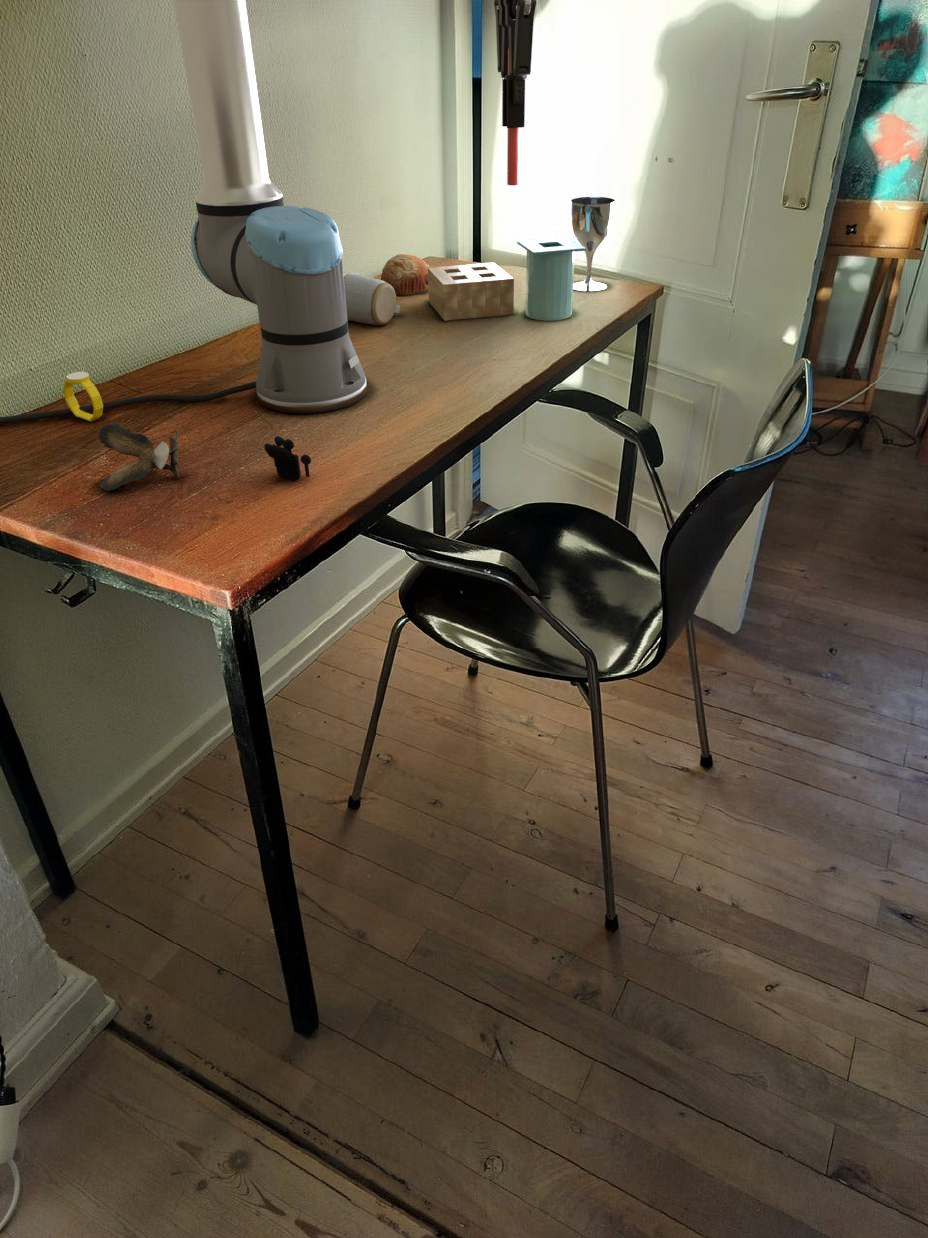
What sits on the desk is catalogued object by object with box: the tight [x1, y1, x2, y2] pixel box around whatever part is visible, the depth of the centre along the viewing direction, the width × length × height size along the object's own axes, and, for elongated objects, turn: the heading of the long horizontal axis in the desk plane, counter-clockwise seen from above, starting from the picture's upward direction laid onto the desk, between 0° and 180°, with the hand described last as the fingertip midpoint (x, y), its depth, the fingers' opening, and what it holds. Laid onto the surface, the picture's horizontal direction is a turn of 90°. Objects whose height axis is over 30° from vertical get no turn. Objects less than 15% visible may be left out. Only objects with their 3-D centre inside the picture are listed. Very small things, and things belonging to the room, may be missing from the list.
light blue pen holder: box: [525, 244, 576, 322], centre depth 153 cm, size 8×8×11 cm
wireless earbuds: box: [264, 435, 312, 482], centre depth 102 cm, size 7×2×5 cm, turn 55°
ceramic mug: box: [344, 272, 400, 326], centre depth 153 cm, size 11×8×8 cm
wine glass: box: [569, 196, 616, 292], centre depth 166 cm, size 8×8×15 cm
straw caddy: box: [427, 262, 515, 321], centre depth 158 cm, size 12×12×6 cm
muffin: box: [380, 253, 431, 296], centre depth 171 cm, size 10×10×8 cm
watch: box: [62, 371, 104, 423], centre depth 118 cm, size 6×3×6 cm, turn 58°
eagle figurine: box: [97, 422, 181, 492], centre depth 102 cm, size 8×7×9 cm
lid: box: [516, 236, 586, 255], centre depth 150 cm, size 9×9×1 cm
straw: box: [506, 49, 520, 186], centre depth 143 cm, size 2×2×19 cm
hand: (513, 126), depth 143 cm, fingers closed on straw, 2 cm apart
